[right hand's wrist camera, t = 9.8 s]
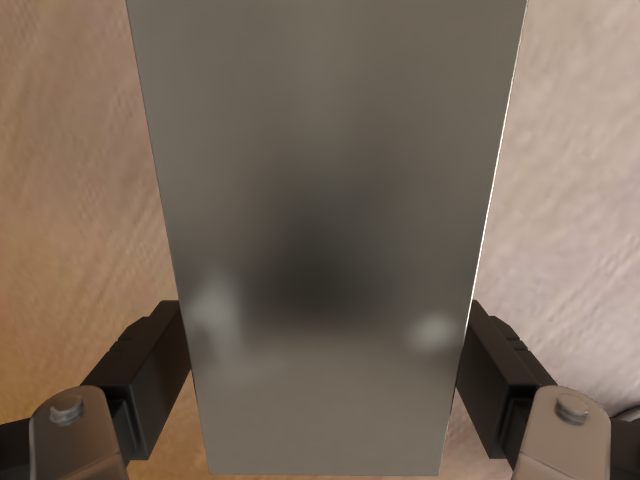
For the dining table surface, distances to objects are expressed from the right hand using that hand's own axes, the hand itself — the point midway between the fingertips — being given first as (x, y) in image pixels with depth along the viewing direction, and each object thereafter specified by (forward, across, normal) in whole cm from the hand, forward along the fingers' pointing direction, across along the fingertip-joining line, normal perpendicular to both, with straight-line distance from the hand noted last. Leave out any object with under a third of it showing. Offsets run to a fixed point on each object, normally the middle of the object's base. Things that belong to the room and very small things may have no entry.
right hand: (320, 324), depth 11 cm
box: (+10, 0, +11) cm, 15 cm away
